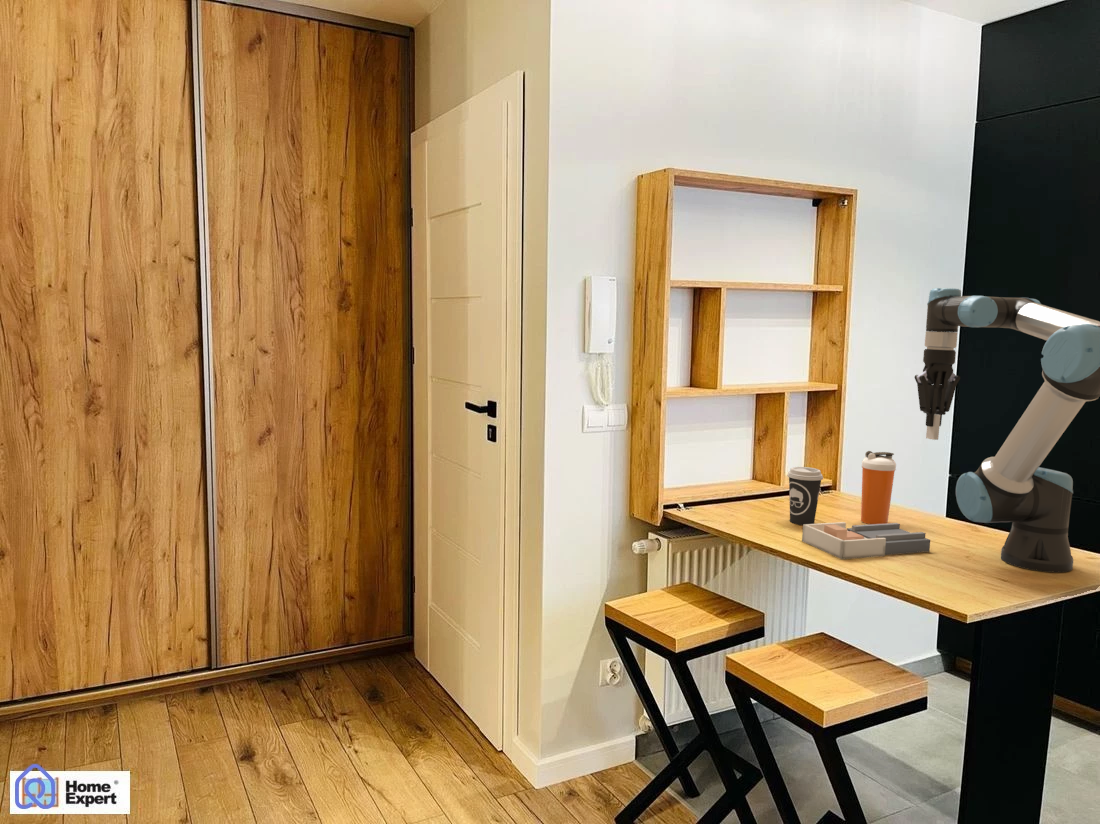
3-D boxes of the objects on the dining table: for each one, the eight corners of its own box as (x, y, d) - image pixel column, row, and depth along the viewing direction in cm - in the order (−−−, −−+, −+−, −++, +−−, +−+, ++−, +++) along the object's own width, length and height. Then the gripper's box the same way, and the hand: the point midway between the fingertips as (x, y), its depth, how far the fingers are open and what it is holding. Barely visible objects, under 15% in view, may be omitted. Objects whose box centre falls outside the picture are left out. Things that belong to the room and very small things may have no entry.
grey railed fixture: (929, 551, 212) (930, 535, 211) (882, 554, 208) (884, 538, 207) (890, 536, 225) (891, 521, 225) (846, 539, 221) (847, 523, 220)
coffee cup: (821, 528, 232) (825, 473, 230) (785, 525, 234) (789, 471, 232) (817, 519, 241) (821, 467, 239) (783, 517, 243) (786, 465, 241)
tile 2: (863, 548, 211) (864, 536, 210) (845, 549, 209) (846, 537, 209) (850, 542, 216) (851, 531, 215) (833, 543, 214) (834, 532, 214)
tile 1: (847, 529, 209) (836, 530, 208) (845, 549, 209) (835, 550, 208) (834, 524, 213) (824, 524, 212) (833, 543, 214) (822, 544, 213)
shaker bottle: (896, 526, 236) (902, 455, 233) (863, 525, 236) (869, 454, 233) (884, 518, 245) (889, 450, 242) (852, 517, 245) (858, 449, 242)
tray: (884, 556, 207) (886, 538, 206) (841, 559, 203) (842, 541, 202) (842, 538, 222) (844, 522, 221) (801, 541, 218) (803, 524, 217)
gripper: (949, 348, 225) (941, 436, 228) (909, 347, 221) (901, 437, 224) (971, 349, 218) (962, 440, 221) (930, 349, 214) (922, 441, 217)
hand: (932, 438), depth 223 cm, fingers closed
